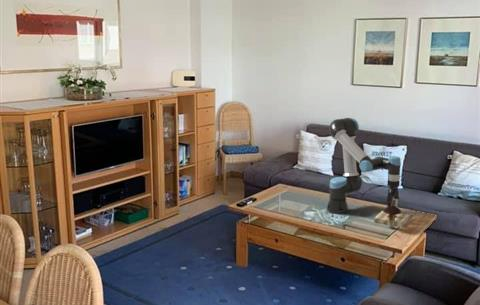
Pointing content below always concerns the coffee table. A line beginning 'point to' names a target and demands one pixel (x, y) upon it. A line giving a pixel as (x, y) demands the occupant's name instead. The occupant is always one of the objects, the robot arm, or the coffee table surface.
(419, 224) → the coffee table surface
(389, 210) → the decorative mushroom
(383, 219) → the board
